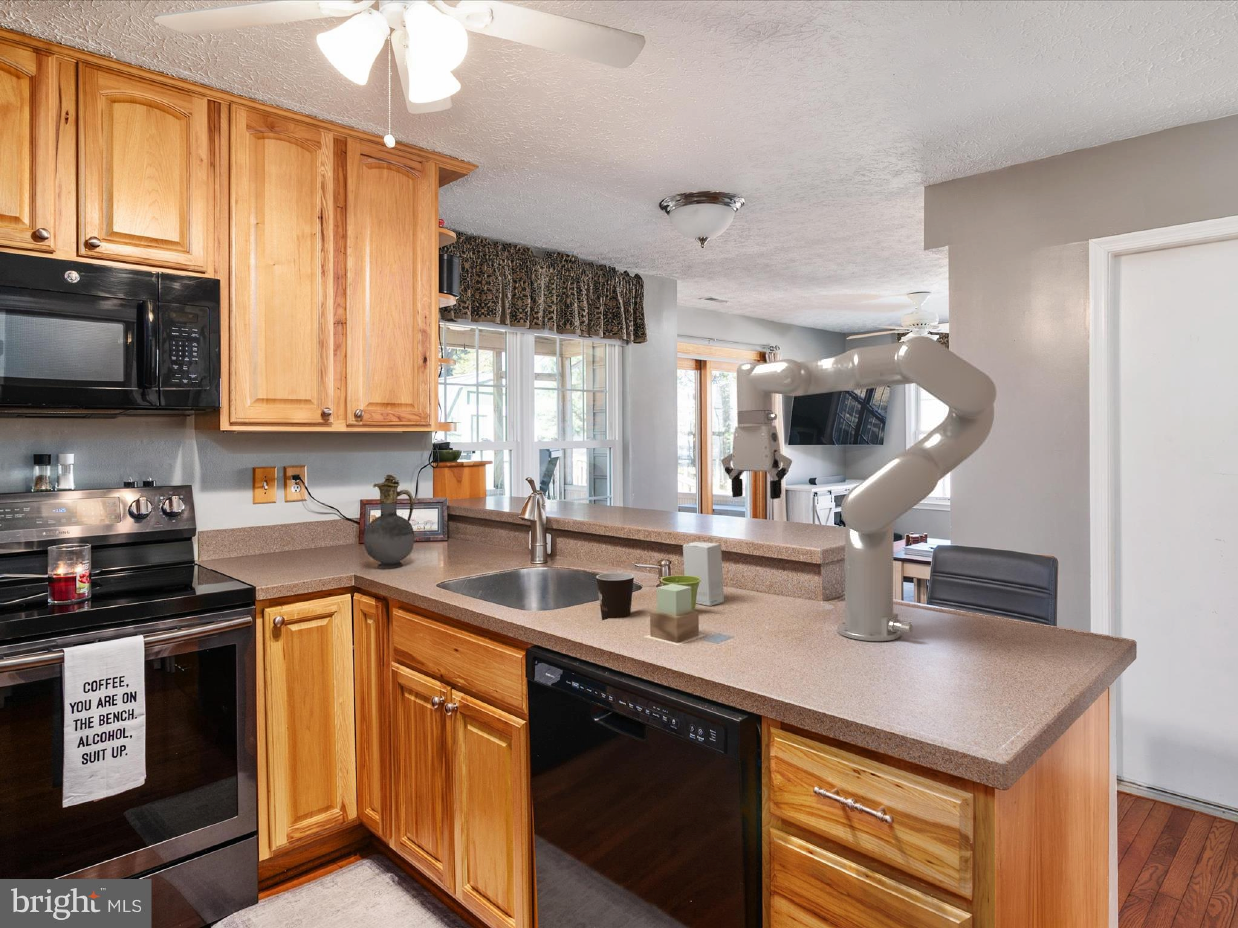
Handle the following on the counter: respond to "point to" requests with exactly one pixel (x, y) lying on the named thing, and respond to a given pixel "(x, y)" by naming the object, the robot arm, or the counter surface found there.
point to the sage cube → (674, 599)
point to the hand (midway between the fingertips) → (756, 497)
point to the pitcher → (390, 528)
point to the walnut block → (674, 626)
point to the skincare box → (705, 570)
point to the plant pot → (684, 584)
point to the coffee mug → (615, 594)
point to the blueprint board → (714, 638)
